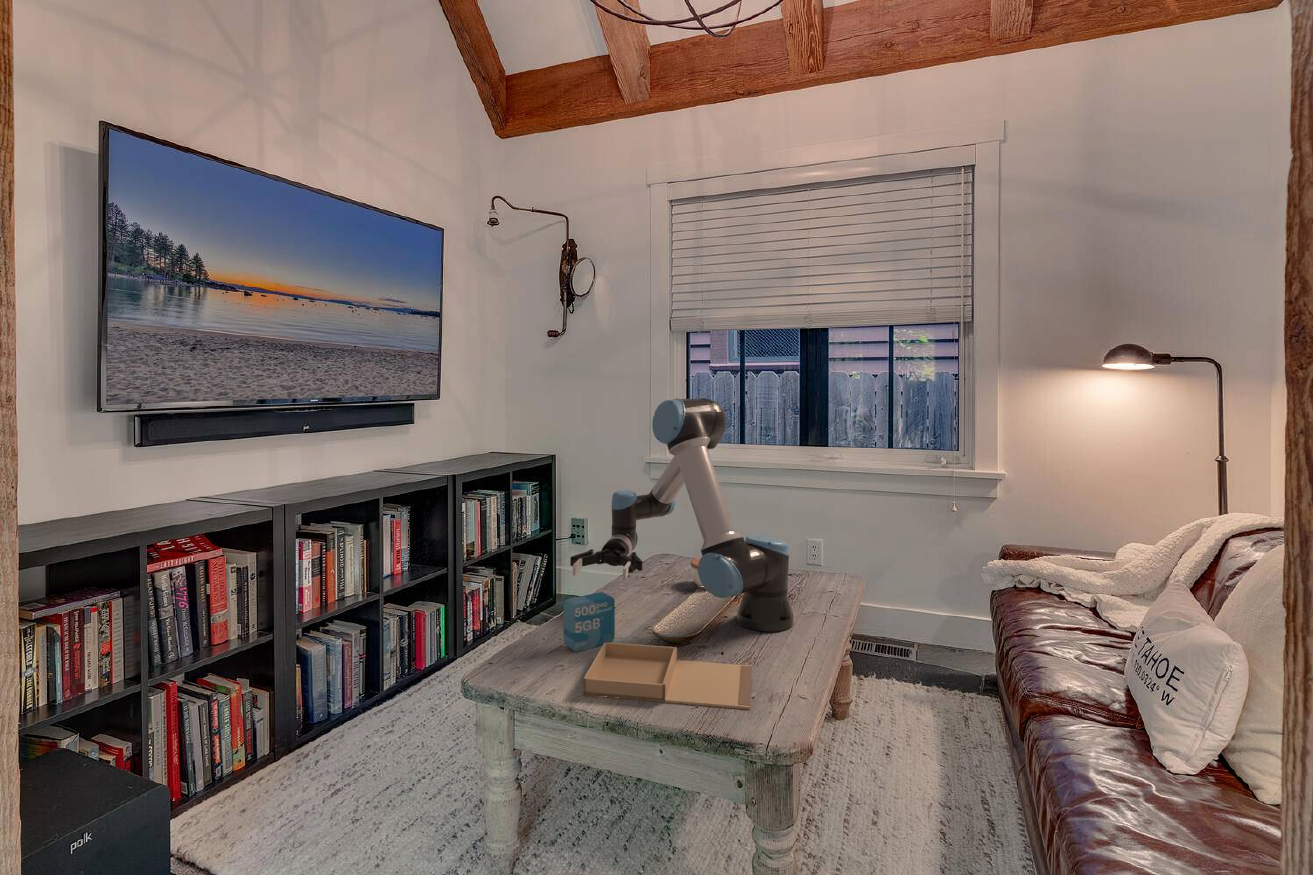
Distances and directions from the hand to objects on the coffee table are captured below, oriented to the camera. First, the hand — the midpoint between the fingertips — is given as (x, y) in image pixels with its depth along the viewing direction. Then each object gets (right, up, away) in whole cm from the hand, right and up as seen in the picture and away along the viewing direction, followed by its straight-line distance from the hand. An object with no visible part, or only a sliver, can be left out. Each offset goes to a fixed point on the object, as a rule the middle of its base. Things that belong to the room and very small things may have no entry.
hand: (599, 572), depth 174 cm
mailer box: (+18, -18, -30) cm, 39 cm away
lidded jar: (+31, -12, +36) cm, 49 cm away
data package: (-1, -16, -10) cm, 19 cm away
